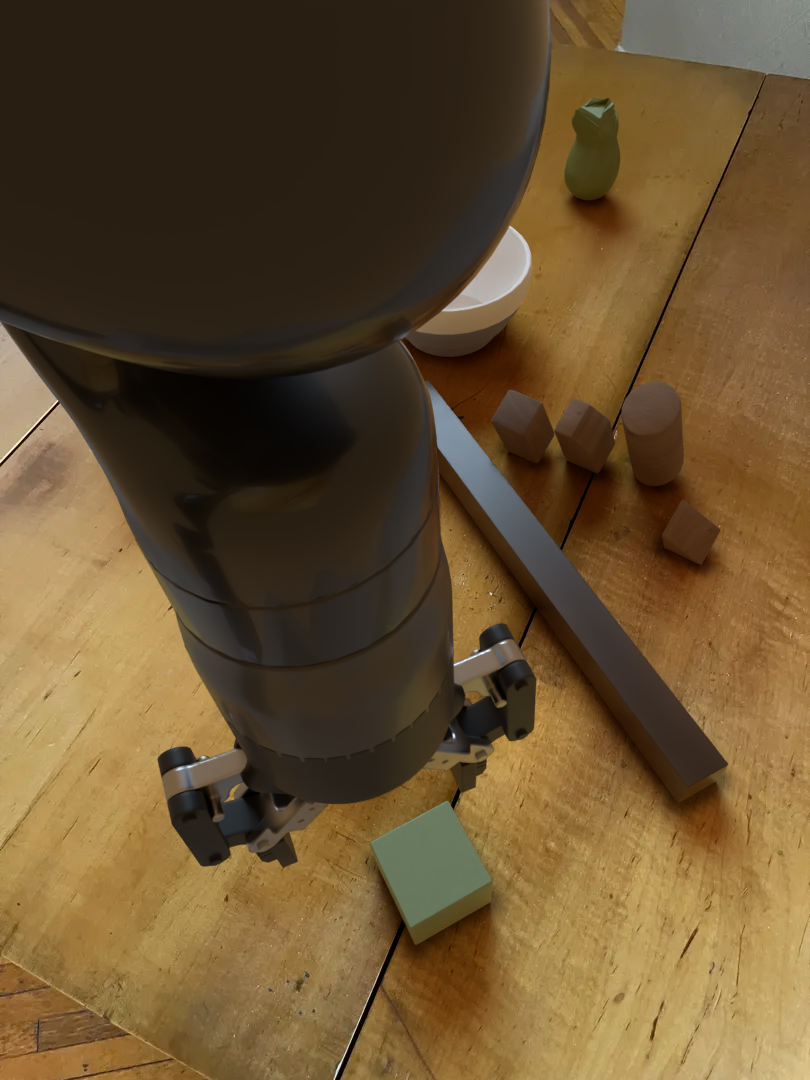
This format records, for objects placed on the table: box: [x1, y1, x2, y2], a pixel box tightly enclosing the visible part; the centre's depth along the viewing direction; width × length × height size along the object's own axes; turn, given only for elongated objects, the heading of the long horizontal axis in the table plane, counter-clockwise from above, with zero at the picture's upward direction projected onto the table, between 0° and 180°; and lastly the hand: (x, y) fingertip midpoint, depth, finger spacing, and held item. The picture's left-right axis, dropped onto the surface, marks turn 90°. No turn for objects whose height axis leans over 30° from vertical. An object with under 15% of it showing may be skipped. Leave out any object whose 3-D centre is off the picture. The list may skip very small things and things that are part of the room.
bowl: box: [404, 225, 533, 358], centre depth 74 cm, size 14×14×8 cm
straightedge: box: [424, 379, 729, 804], centre depth 60 cm, size 3×38×3 cm, turn 27°
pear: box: [563, 96, 621, 201], centre depth 84 cm, size 6×5×10 cm
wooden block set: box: [490, 380, 721, 566], centre depth 61 cm, size 18×9×10 cm, turn 53°
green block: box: [369, 800, 493, 946], centre depth 47 cm, size 5×5×5 cm
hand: (374, 806), depth 37 cm, fingers open, 8 cm apart
